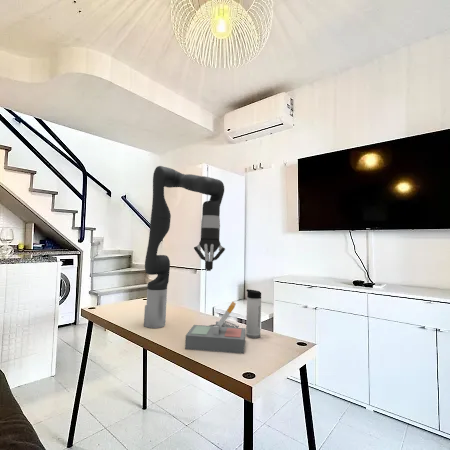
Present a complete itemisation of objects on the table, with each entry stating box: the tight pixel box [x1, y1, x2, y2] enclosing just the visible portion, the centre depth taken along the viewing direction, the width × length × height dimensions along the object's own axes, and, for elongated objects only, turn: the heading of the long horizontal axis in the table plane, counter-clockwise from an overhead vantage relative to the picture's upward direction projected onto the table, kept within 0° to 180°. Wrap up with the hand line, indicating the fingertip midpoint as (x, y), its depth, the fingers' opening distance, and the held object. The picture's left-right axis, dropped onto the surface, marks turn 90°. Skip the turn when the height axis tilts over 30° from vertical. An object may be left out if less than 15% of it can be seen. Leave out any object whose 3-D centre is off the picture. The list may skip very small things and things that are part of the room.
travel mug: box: [245, 288, 262, 339], centre depth 124 cm, size 6×7×20 cm
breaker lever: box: [216, 301, 237, 329], centre depth 112 cm, size 2×6×11 cm
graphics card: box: [208, 320, 240, 328], centre depth 128 cm, size 17×4×12 cm
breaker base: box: [184, 320, 246, 354], centre depth 112 cm, size 22×14×8 cm, turn 83°
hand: (208, 270), depth 112 cm, fingers closed
